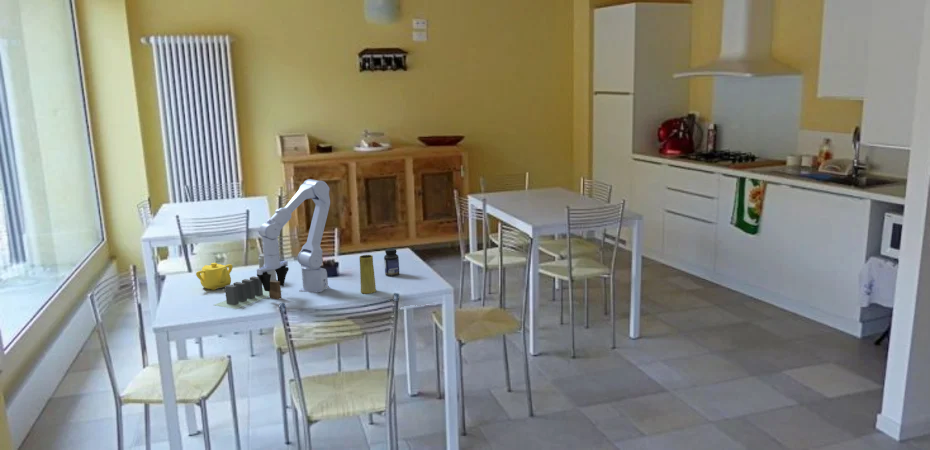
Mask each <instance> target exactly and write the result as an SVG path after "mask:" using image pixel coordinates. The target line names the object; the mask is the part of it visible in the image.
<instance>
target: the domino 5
mask: <svg viewBox="0 0 930 450" xmlns="http://www.w3.org/2000/svg"><path fill="white" fill-rule="evenodd" d="M281 290H282V289H281V286H280V281H278V280H276V281H275V280H270V291H269V299H274V300H280V299H282V292H281Z"/></svg>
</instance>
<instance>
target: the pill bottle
mask: <svg viewBox="0 0 930 450" xmlns="http://www.w3.org/2000/svg"><path fill="white" fill-rule="evenodd" d="M384 252H385V255H384V257H383V260H384V273H385V276H386V277H395V276H399V275H400V260H399V255H398V254H397V249H396V248H387V249H385V251H384Z"/></svg>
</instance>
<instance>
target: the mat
mask: <svg viewBox="0 0 930 450" xmlns="http://www.w3.org/2000/svg"><path fill="white" fill-rule="evenodd" d="M262 290H263V295H261V296H257V295H255V298H253V299H249V298H247V301H245V302H240V301H239V304H237V305H231V304H227V301H226V300H223V301H220V302H218V303H215V304H214V306H217V307H222V308H227V309H232V310H233V309H235V310H237V309H239V308H241V307H242V308H243V307H245V306H248V305H250V304H254V303H256V302H257V301H261V300H263V299H266V298H268V297H269V291H265V290H264V287H262ZM282 292H283V290H282V289H281V293H282ZM269 298H270V297H269Z"/></svg>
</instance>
